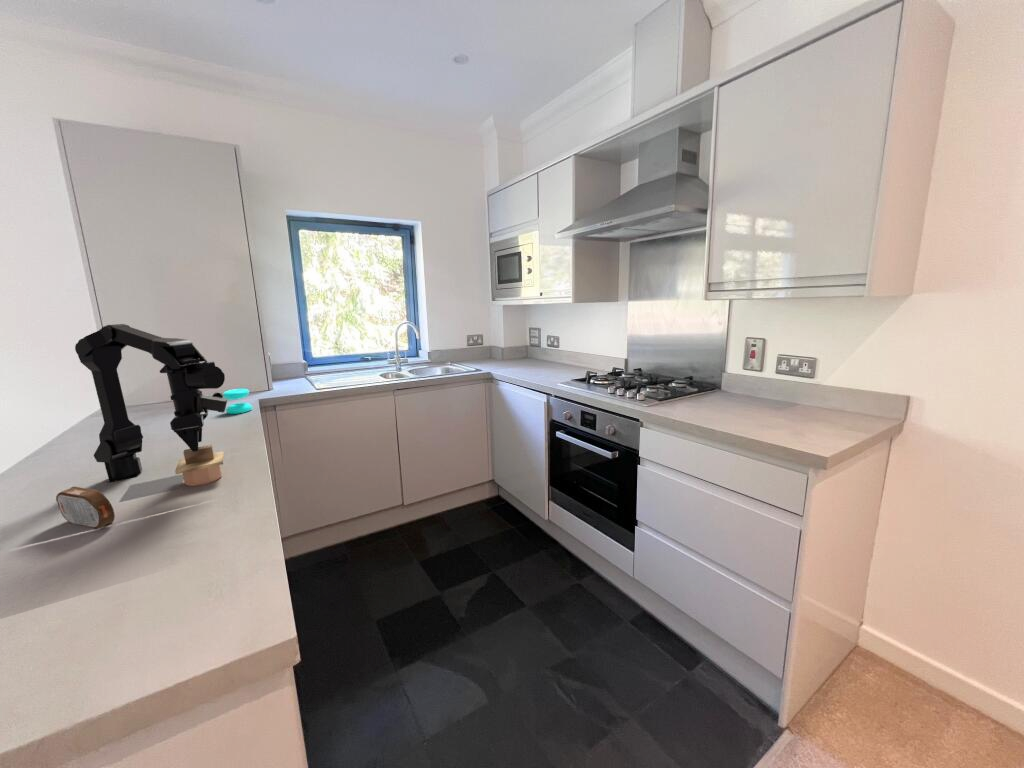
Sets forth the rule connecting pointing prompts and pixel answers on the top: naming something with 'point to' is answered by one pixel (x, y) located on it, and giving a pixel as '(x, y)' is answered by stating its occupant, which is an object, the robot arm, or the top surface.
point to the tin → (85, 507)
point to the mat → (153, 487)
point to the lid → (199, 459)
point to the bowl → (202, 476)
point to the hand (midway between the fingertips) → (197, 446)
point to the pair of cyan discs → (237, 407)
